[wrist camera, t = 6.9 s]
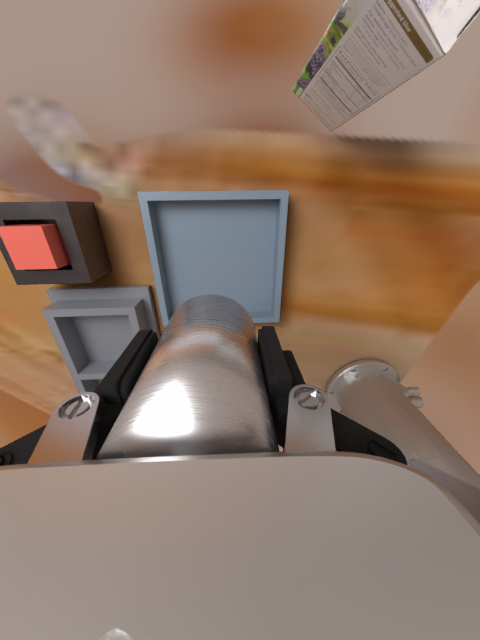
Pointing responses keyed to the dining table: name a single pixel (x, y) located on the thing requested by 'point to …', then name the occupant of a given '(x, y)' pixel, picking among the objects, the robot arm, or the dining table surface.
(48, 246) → the button
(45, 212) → the box
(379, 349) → the dining table surface
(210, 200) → the tray
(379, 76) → the syrup box
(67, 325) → the grey divided tray
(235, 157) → the dining table surface
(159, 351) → the billet
